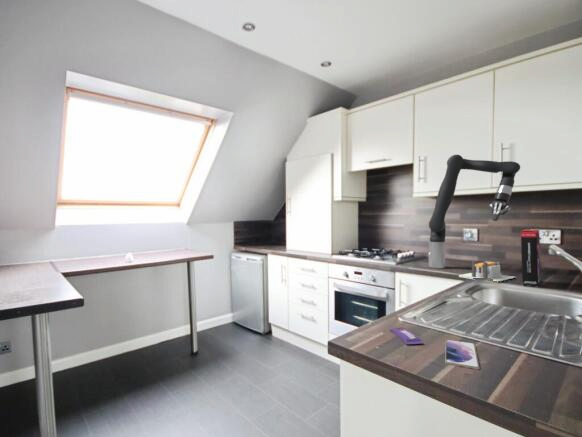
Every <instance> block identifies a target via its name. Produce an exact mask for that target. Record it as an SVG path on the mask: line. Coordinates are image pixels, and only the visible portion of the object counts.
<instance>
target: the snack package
mask: <svg viewBox="0 0 582 437" xmlns="http://www.w3.org/2000/svg"><path fill="white" fill-rule="evenodd" d="M389 331H391V332H392V333H393V334H395V336H397V338H399V339H400V340H401V341H403V343H405V344H406V345H419V344H422V345H423V344H424V341H423V340H421V338H419V336H417V335H416V334H415V333H413V332H412V331H411V330H409V328H407V327H393V328H389Z"/></svg>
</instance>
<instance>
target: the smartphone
mask: <svg viewBox="0 0 582 437" xmlns="http://www.w3.org/2000/svg"><path fill="white" fill-rule="evenodd" d="M478 358H479V357H478V352H477V348H476V344H475V343H472V342H465V341H460V340H459V341H458V340H452V339H451V340H450V339H446V340H445V358H444V360H445V362H444V363H445V364H447V365H451V366H455V367H463V368H466V369H473V370H476V371H477V370H480V364H479V363H480V362H479V359H478Z"/></svg>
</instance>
